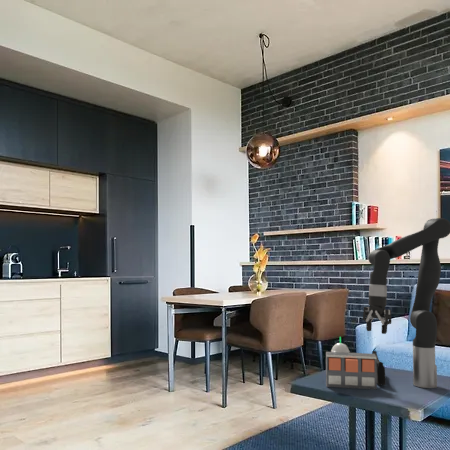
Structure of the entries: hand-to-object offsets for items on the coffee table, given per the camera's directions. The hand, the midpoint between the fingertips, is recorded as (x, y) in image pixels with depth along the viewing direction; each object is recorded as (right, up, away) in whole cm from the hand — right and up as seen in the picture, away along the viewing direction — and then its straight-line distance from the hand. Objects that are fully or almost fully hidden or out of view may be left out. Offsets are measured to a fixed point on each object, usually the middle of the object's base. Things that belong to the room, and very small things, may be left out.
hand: (376, 332), depth 214 cm
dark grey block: (-11, -24, -1) cm, 26 cm away
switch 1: (-18, -16, -1) cm, 24 cm away
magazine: (+5, -25, +13) cm, 29 cm away
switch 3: (-5, -16, -3) cm, 17 cm away
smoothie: (-14, -24, +8) cm, 29 cm away
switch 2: (-12, -16, -4) cm, 20 cm away
